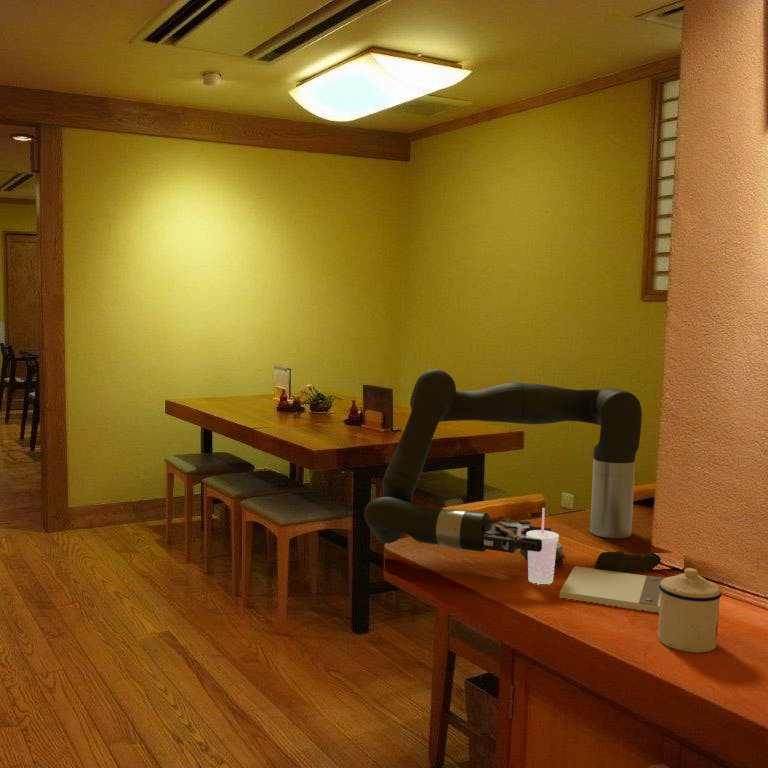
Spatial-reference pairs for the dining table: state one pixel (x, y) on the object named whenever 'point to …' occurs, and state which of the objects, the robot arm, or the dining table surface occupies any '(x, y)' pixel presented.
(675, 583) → the teacup with lid
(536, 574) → the beverage cup
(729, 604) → the dining table surface
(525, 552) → the walkie-talkie
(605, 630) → the dining table surface
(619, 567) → the hand tool
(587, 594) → the floor panel
